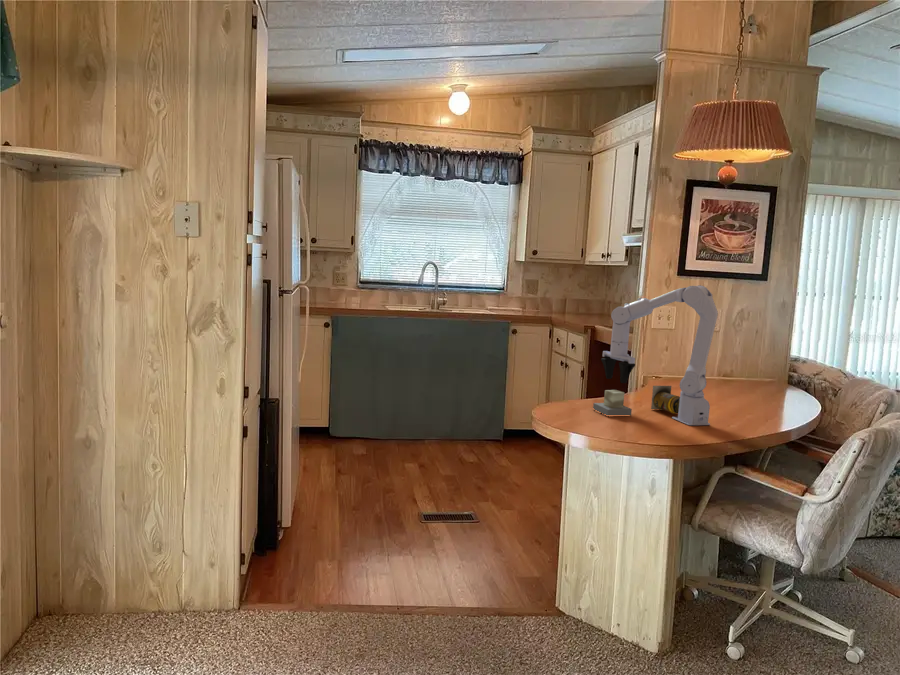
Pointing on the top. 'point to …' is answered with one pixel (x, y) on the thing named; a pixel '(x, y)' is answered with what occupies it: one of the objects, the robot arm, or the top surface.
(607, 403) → the sage block
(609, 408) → the plate
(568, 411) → the top surface
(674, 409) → the condiment
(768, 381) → the top surface
